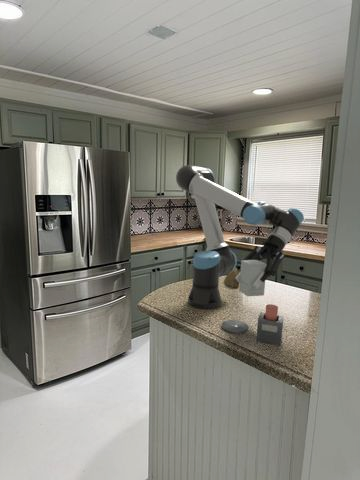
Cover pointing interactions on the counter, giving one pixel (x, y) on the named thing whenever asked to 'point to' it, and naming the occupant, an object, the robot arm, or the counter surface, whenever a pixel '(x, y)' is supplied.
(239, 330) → the coaster
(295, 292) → the counter surface
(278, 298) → the counter surface
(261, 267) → the supplement box
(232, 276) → the rock
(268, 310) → the button
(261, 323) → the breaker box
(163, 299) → the counter surface
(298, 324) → the counter surface
